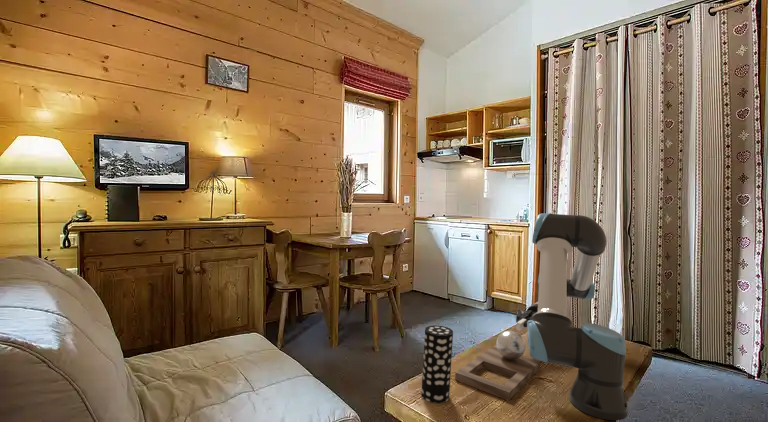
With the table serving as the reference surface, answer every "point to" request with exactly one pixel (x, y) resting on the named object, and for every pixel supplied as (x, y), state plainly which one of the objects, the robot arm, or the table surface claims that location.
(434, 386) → the white-spotted black cylinder
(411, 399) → the table surface
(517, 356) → the steel ball
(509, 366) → the brown wooden frame
